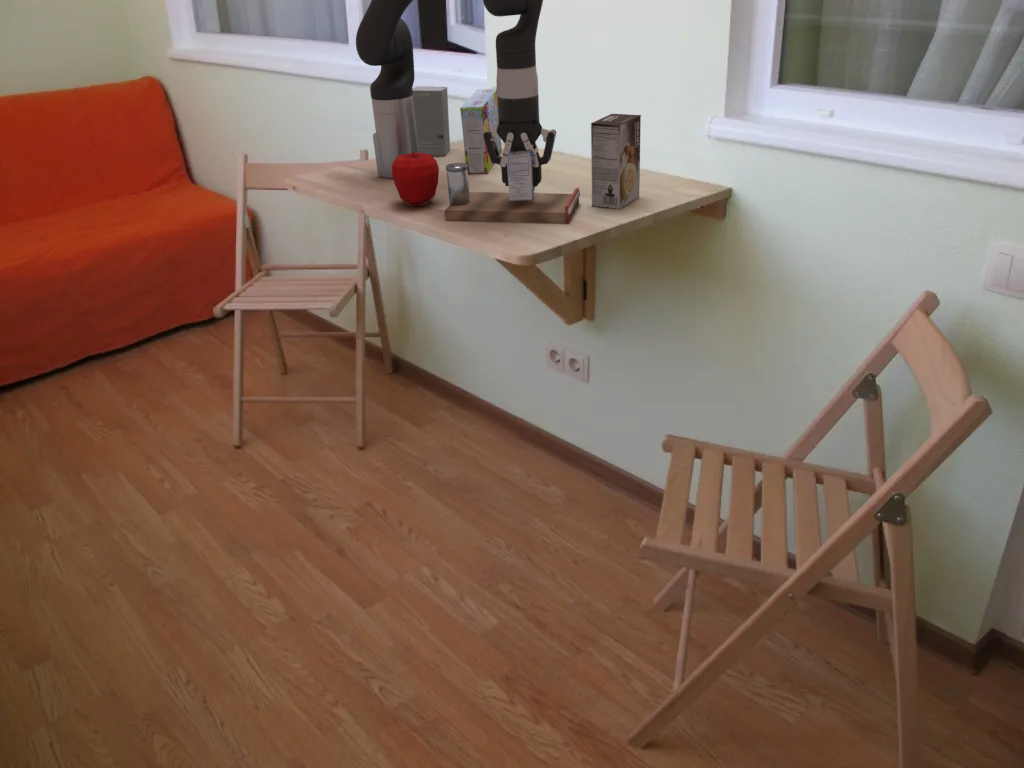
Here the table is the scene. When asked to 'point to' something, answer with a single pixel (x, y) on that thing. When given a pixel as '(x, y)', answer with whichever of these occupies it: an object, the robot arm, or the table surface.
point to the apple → (415, 177)
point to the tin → (458, 183)
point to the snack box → (479, 129)
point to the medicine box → (520, 175)
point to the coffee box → (615, 160)
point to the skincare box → (432, 119)
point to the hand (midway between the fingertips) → (521, 185)
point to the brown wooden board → (516, 208)
